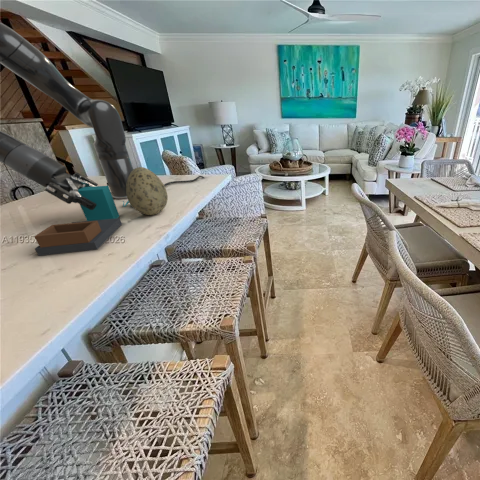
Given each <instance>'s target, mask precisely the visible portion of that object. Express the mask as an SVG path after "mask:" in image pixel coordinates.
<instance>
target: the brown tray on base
mask: <svg viewBox="0 0 480 480" xmlns="http://www.w3.org/2000/svg"><path fill="white" fill-rule="evenodd" d="M121 226H123V223H122V220H121V218H120V217H118V218H116V219H105V220H93V221H87V220H84V221H72V222H69V223H57V224H50V226H47V227H46V228H45V229H43V230H42V231H40V232H39V233H37V234H35V235H34V237H33V238H34V239H35V241H36V242H37V244H38V246H36V247H35V248H34V251H35V252H36V254H37V255H38V257H42V256H50V255H59V254H68V253H77V252H86V251H87V252H88V251H94V250H99V248H101V247H102V246H103V244H104V243H105V242H106V241H107V240H108V239H109V238H111V236H112V235H114V233H116V232H117V230H118V229H119V228H120V227H121Z"/></svg>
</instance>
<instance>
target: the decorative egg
mask: <svg viewBox="0 0 480 480" xmlns="http://www.w3.org/2000/svg"><path fill="white" fill-rule="evenodd" d="M133 169H134V170H133V171H132V172H131V173H130V175H129V177H128V179H127V183H126V195H127V198H126V199H127V201H129V203H128V204H129V205H130V206H131V207H132V208H133V209H134V210H135V211H137V212H138V213H141V214H143V215H148V216H154V215H158V214H159V213H161V212H162V211H163V210H164V209H165V208H166V206H167V204H168V199H169V198H168V197H169V195H168V191H167V188H166V186H164V184H165V183H164V182H163V181H162V180H161V179H160V178H159V176H158V175H157V174H156V173H155V172H153V171H152V170H150V169H148V168H146V167H143V166H137V167H135V168H133Z"/></svg>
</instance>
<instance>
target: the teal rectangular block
mask: <svg viewBox="0 0 480 480" xmlns="http://www.w3.org/2000/svg"><path fill="white" fill-rule="evenodd" d="M78 192H79V193H80V195H81V196H82V197H85V198H87V199H89V200H90V201H92V202H94V203H96V204H97V206H96V207H95V208H94V209H93V210H90V209H88V208H86V207H84V206H82V205H80V204H79V206H80V208H81V210H82V213H83V215H84V217H85V219H86V220H85V221H93V220H105V219H116V218H120V213H119V210H118V208H117V206H116V203H115V200H114V198H113V197H112V193H111V190H110V188H109V186H107V185H97V186H95V187H82V188H80V189H78Z"/></svg>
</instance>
